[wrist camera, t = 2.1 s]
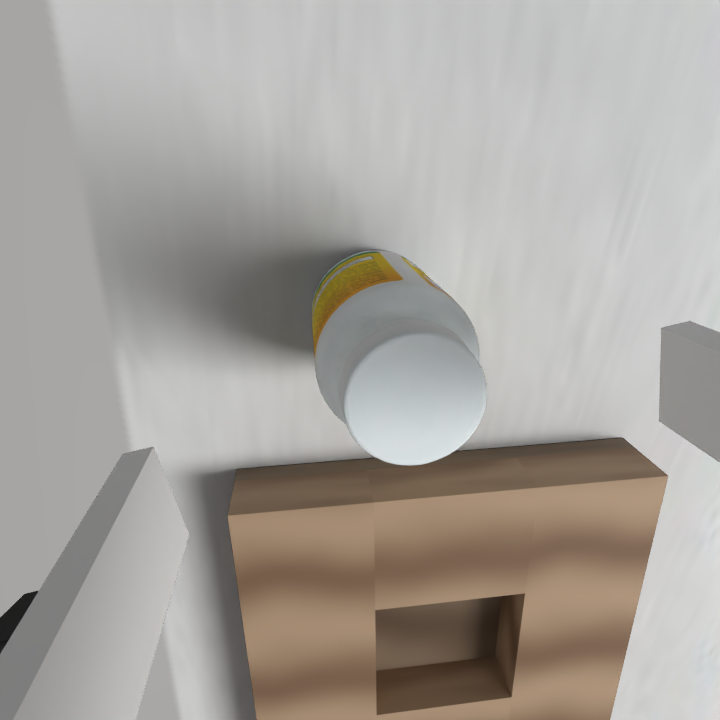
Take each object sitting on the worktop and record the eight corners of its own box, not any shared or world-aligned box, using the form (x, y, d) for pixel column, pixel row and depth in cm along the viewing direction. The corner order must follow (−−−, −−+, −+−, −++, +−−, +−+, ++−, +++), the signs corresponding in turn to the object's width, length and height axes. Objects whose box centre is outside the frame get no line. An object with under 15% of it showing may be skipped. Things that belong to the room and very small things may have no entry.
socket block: (236, 469, 25) (227, 515, 21) (623, 437, 27) (668, 476, 23) (271, 738, 32) (268, 803, 29) (572, 698, 34) (601, 754, 31)
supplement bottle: (444, 262, 22) (543, 329, 13) (412, 373, 24) (480, 498, 15) (324, 235, 21) (344, 287, 12) (299, 353, 23) (300, 474, 14)
